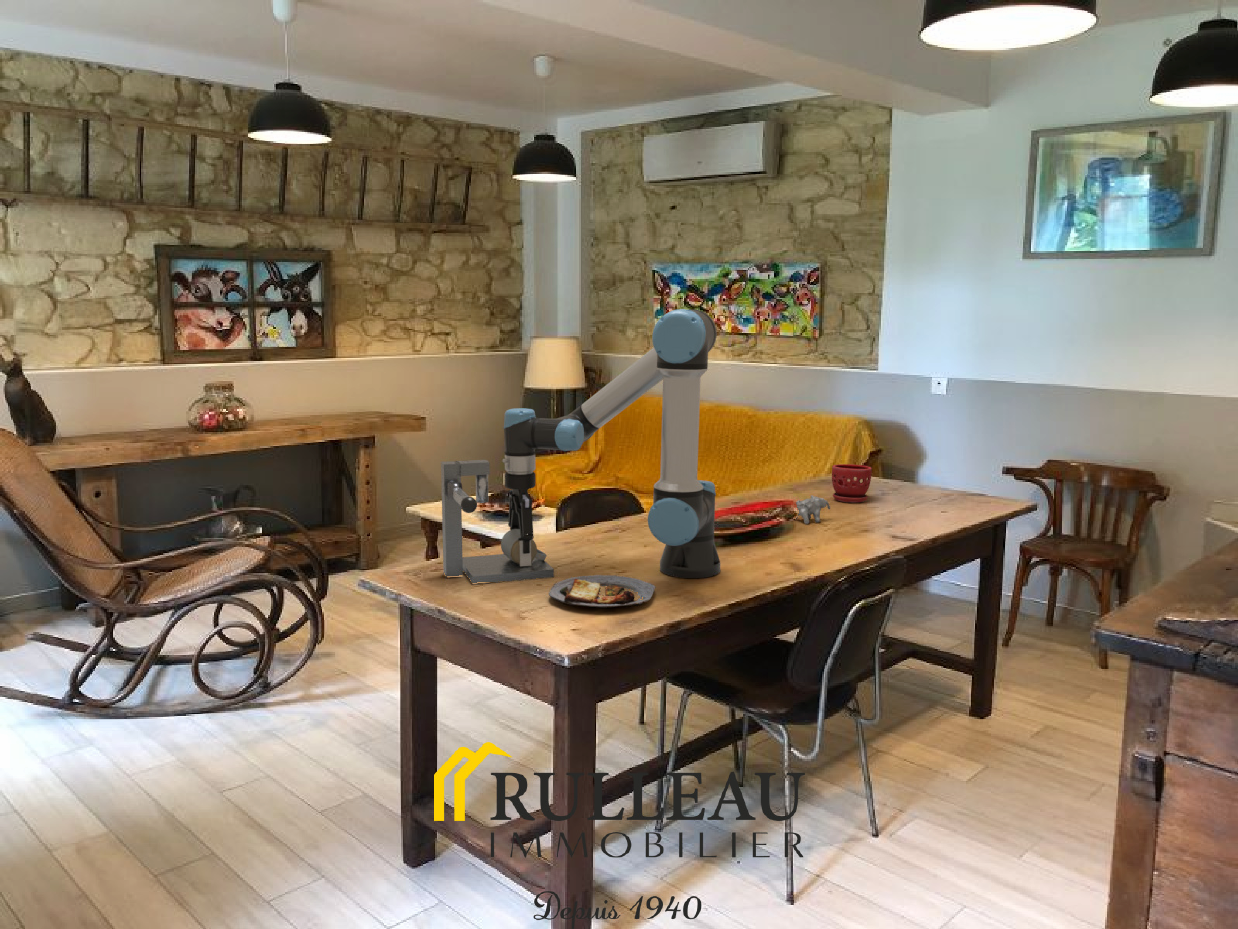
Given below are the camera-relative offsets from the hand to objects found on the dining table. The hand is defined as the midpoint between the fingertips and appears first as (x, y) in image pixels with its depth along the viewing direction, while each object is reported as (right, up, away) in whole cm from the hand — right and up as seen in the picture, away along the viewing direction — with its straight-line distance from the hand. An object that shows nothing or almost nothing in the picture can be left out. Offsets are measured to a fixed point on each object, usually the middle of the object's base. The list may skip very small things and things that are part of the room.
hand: (520, 560), depth 242 cm
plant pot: (+104, +12, +89) cm, 137 cm away
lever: (-12, +15, -21) cm, 28 cm away
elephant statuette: (+84, +7, +58) cm, 102 cm away
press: (-6, -3, -2) cm, 7 cm away
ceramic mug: (+1, 0, +1) cm, 1 cm away
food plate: (+21, -7, -21) cm, 31 cm away
